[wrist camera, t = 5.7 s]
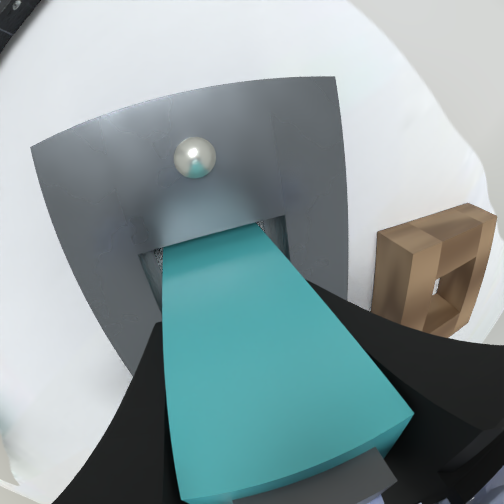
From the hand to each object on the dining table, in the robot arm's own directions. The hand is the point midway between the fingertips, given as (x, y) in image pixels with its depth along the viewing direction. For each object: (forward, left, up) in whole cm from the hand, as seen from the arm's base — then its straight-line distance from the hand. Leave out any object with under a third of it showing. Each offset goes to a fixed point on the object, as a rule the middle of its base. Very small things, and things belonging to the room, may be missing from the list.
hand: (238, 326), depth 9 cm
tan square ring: (-6, -14, -5) cm, 16 cm away
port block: (0, 0, -5) cm, 5 cm away
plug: (0, 0, -4) cm, 5 cm away
